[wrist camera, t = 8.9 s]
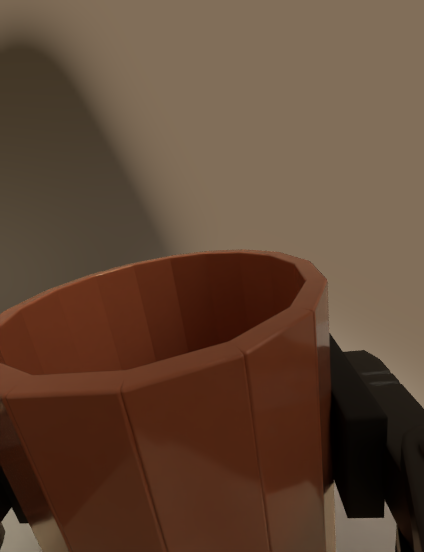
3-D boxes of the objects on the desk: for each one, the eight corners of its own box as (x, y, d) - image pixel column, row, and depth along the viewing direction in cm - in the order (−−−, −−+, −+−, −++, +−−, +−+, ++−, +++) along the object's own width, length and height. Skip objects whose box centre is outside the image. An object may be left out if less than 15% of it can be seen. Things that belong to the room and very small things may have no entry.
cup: (266, 440, 13) (243, 241, 10) (402, 679, 7) (435, 297, 4) (116, 497, 12) (42, 280, 9) (90, 890, 5) (-246, 499, 2)
